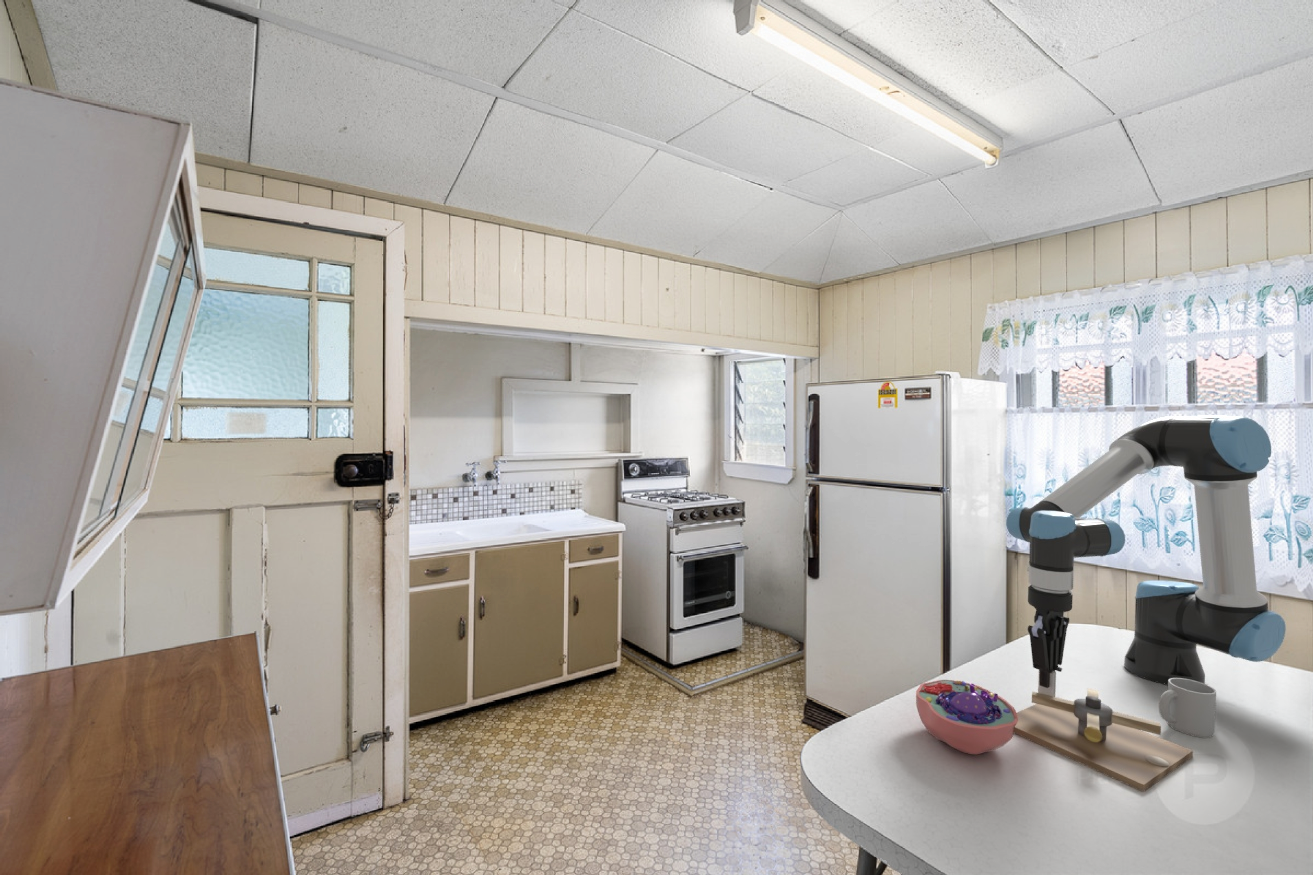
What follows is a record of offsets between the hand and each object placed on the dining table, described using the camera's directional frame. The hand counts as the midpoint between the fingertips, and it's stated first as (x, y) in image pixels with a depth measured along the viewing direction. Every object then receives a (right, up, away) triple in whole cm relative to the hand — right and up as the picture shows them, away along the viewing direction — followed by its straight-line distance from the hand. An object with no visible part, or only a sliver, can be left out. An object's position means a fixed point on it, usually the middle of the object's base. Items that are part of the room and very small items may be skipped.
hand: (1046, 700), depth 120 cm
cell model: (-21, -5, -7) cm, 23 cm away
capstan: (+5, -1, -7) cm, 8 cm away
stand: (+5, -5, -6) cm, 9 cm away
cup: (+27, -6, -1) cm, 28 cm away
